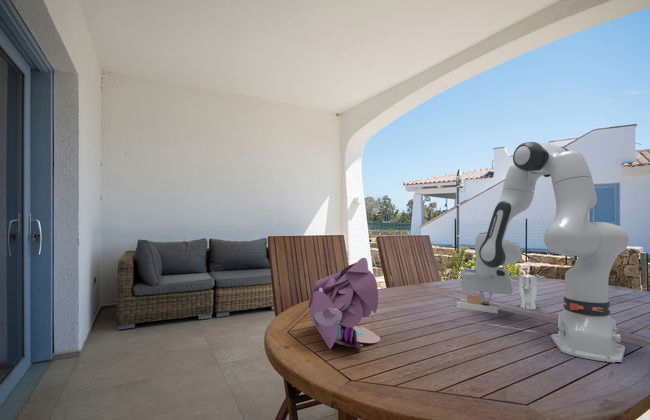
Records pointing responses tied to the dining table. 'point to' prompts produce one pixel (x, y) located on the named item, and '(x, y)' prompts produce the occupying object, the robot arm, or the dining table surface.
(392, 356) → the dining table surface
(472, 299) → the block
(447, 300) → the dining table surface
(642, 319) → the dining table surface
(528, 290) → the beer glass
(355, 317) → the flower arrangement
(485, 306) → the chute
